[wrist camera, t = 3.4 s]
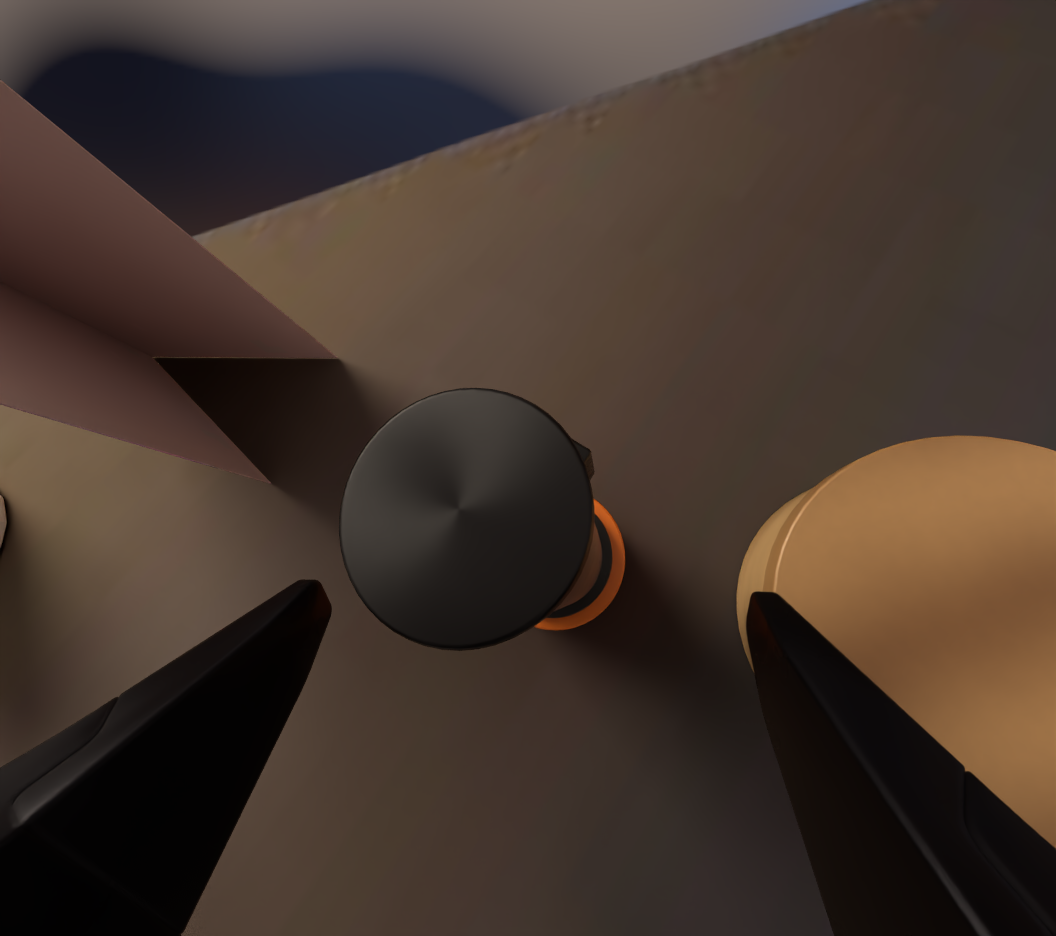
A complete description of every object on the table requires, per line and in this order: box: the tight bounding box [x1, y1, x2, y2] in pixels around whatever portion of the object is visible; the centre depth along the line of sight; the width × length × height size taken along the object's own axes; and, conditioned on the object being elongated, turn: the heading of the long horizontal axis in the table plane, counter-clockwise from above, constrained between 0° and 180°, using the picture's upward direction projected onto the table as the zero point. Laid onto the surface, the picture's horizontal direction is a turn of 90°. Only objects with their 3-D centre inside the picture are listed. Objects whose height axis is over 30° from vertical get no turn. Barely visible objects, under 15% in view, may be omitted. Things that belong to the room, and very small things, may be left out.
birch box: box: [737, 436, 1056, 848], centre depth 13 cm, size 10×10×4 cm
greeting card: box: [0, 80, 338, 484], centre depth 16 cm, size 11×7×15 cm, turn 49°
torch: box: [339, 388, 625, 651], centre depth 12 cm, size 5×5×13 cm
